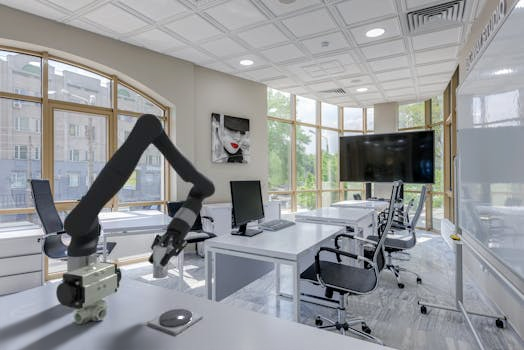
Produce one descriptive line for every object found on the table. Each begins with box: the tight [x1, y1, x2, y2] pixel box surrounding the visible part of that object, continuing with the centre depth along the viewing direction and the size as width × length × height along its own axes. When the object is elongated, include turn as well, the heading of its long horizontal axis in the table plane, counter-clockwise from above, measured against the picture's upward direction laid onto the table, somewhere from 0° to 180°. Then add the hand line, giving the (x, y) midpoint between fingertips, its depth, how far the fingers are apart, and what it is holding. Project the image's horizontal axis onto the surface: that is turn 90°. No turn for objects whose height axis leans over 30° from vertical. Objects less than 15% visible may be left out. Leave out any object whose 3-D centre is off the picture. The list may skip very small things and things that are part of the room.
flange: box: [146, 306, 204, 336], centre depth 94 cm, size 12×12×1 cm
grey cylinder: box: [152, 244, 169, 280], centre depth 102 cm, size 5×5×10 cm
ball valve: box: [55, 261, 122, 325], centre depth 95 cm, size 18×8×18 cm, turn 159°
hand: (156, 263), depth 100 cm, fingers closed on grey cylinder, 4 cm apart
